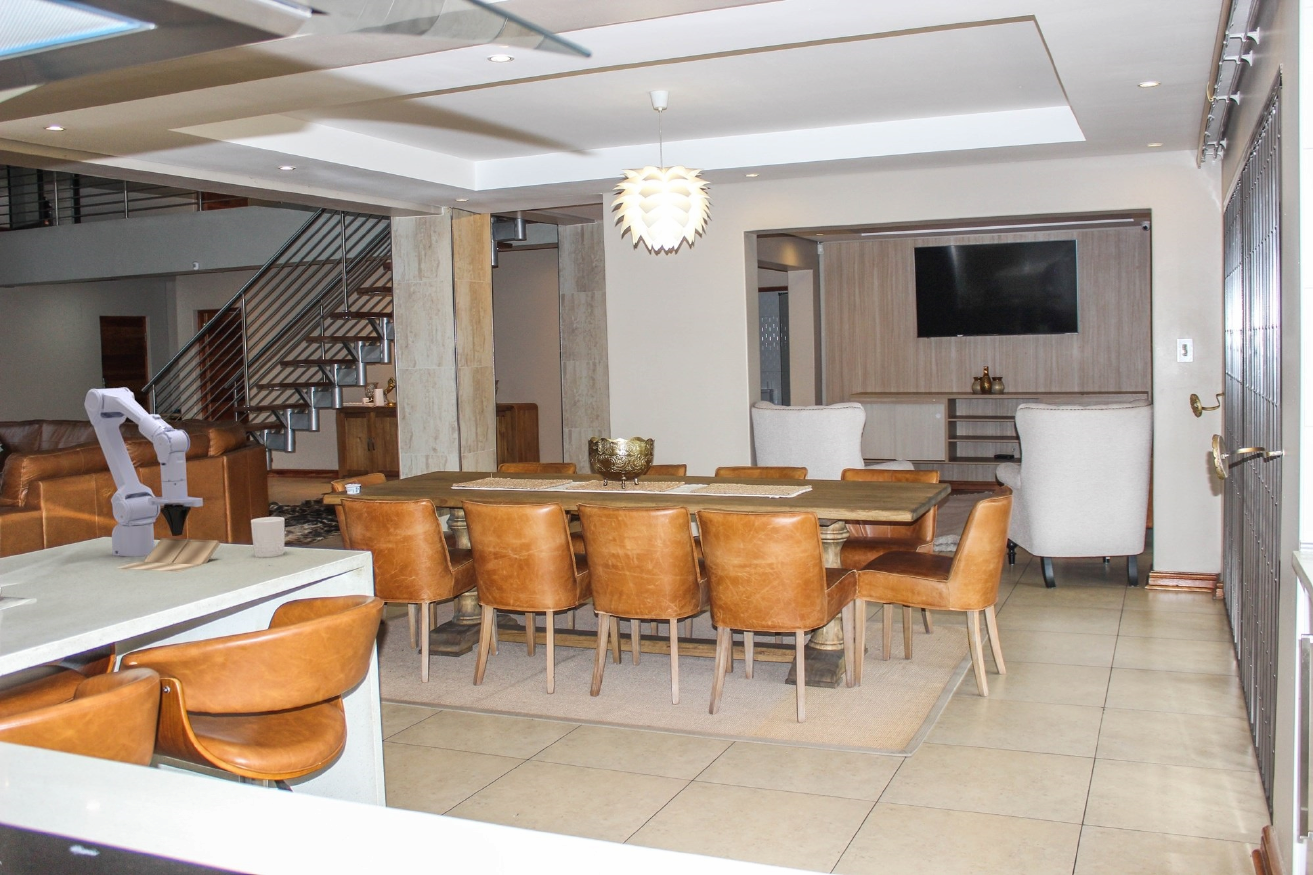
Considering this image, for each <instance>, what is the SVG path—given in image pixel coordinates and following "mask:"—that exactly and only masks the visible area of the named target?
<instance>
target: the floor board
mask: <svg viewBox="0 0 1313 875" xmlns="http://www.w3.org/2000/svg"><path fill="white" fill-rule="evenodd" d="M200 566H201V565H199V564H178V563H157V562H144V561H138V562H134V563H130V564H126V565H123V566H122V565H121V566H118V567H115V569H121V570H137V571H139V570H140V571H158V572H159V571H160V572H177V573H179V572H182V571H185V570H188V569H192V568H195V567H200Z"/></svg>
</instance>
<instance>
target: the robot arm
mask: <svg viewBox="0 0 1313 875" xmlns="http://www.w3.org/2000/svg"><path fill="white" fill-rule="evenodd" d="M83 405H84V408H85V411H86V413H87V415H88V418H89V422H90V424H91V425H92V426H93V428H94V431H95V432H94V433H95V434H96V437H97V440H98V442H99V445H100V448H101V450H102V453H103V455H104V458H105V461H106V463H107V466H108V468H109V471H110V473H111V475H112V478H113V482H114V484H115V487H116V489H117V490H116V491H115V493H113V496H112V497H111V499H110V502H111V504H112V505H111V506H112V514H113V517H114V520H116V522H117V523H118V524H116V525H115V526H114V527H113V529H112V532H111V545H112V556H116V557H117V556H119V557H120V556H121V557H131V558H132V557H144V556H149V554H150V553H151V552H152V550H153V549H154V548H155V547H156V546H155V532H154V523H155V522H157V521H156V519H158V517H159V515H160V513H161V514H162V515H163V517H164V518H165V521H166V522H167V524H168V528H169V530H170V532H171V533H170V534H171V536H172V537H179V536H183V532H184V527H185V522H186V519H187V517H188V515H189V513H190V511H191V510H192V507H194V508H198V507H203V506H204V500H203V497H192V496H189V495H188V482H187V481H188V480H187V477H188V476H187V463H186V460H187V458H186V453H187V452H189V450H190V448H191V440H190V437H189V434H188V433H187V432H186V431H185V429H176V428H175V429H174V427H172V425H171V424H169V423H167V422H166V421H164V419H162V416H161V415H160V414H157V413H156V414H154V413H151V414H149V413H148V412H147V410H145V409H144V408H143V407H142V405H141V404H139V403H138V402H137V401H136V400H135V394H134V392H132V391H131V390H130V389H129V388H128V387H124V386H123V387H118V388H117V387H116V388H115V387H113V388H98V389H97V388H91V389H89V390H88V391H87V393H86V395H85V401H84V404H83ZM127 418H128V419H129V420H131V421H133V423H135V424H137V426H138V431H139V433H140V434H141V435H143V437H145V438H146V439H147V440H149V441H150V442H151V443H152V444H153V449H154V451H155V453H156V456H157V461H158V463H160V465H159V466H160V479H161V480H160V481H161V495H162V496H155V494H154V493H153V491H152V489H151V488H150V487H149V486H147V485H144V484H143V483H141V482H140V480H139V477H138V474H137V472H136V469H135V467H134V464H133V462H132V459H131V457H130V454H129V452H128V449H127V446H126V443H125V441H124V438H123V437H122V434H121V431H120V425H122V424H123V423H125V421H126V419H127ZM161 507H162V508H161Z"/></svg>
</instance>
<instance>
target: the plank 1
mask: <svg viewBox="0 0 1313 875" xmlns="http://www.w3.org/2000/svg"><path fill="white" fill-rule="evenodd" d="M189 540H190V539H187V538H185V539H184V538H166V537H165V538H164V537H161V538H160V540H159V542H158V543H157V544H156V545H155V546H154V547H155V548H154V549H153V550H152V552H151V553H150V554H149V555H147V557H146V558H145V559H144V561H143V562H154V563H173V562H174V561H175V560H176V558H177V557H178V556H179V554H180V553H181V552H182V550H183V549H184V547H185V546H186V545H187V543H188V542H189Z"/></svg>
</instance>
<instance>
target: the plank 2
mask: <svg viewBox="0 0 1313 875" xmlns="http://www.w3.org/2000/svg"><path fill="white" fill-rule="evenodd" d="M220 545H221V543H220V541H219V540H217V539H216V540H215V539H214V540H213V539H212V540H210V539H209V540H208V539H189V542H188V543H187V545H186V546H185V547H184V549H183V550H182V552H181V553H180V554H179V556H178V557H177V558H176V560H175V561H174V562H173V563H176V564H197V565H200V566H202V565H204V564H207V563H208V561H209V560H210V559H211V558H212V556H213V554H214V553H215V552H216V550H218V547H220Z"/></svg>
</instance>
